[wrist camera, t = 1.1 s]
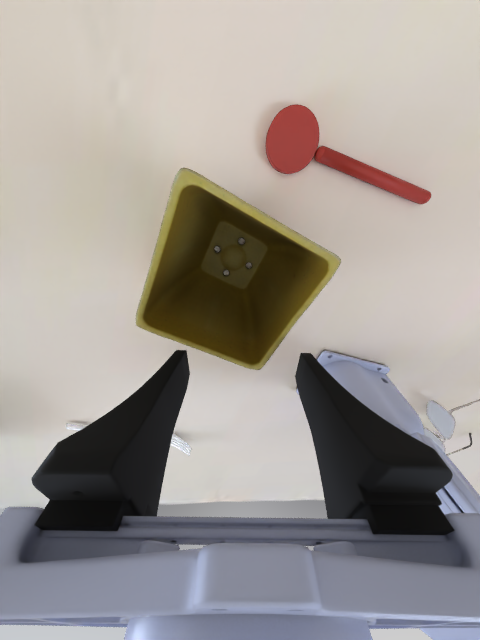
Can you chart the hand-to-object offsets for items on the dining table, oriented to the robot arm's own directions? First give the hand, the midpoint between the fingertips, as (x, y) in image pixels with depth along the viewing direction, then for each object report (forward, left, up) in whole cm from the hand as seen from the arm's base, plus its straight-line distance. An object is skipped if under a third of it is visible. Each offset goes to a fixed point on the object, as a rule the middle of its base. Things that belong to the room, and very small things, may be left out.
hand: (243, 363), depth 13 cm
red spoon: (-4, -13, -10) cm, 16 cm away
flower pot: (+2, -4, -10) cm, 11 cm away
